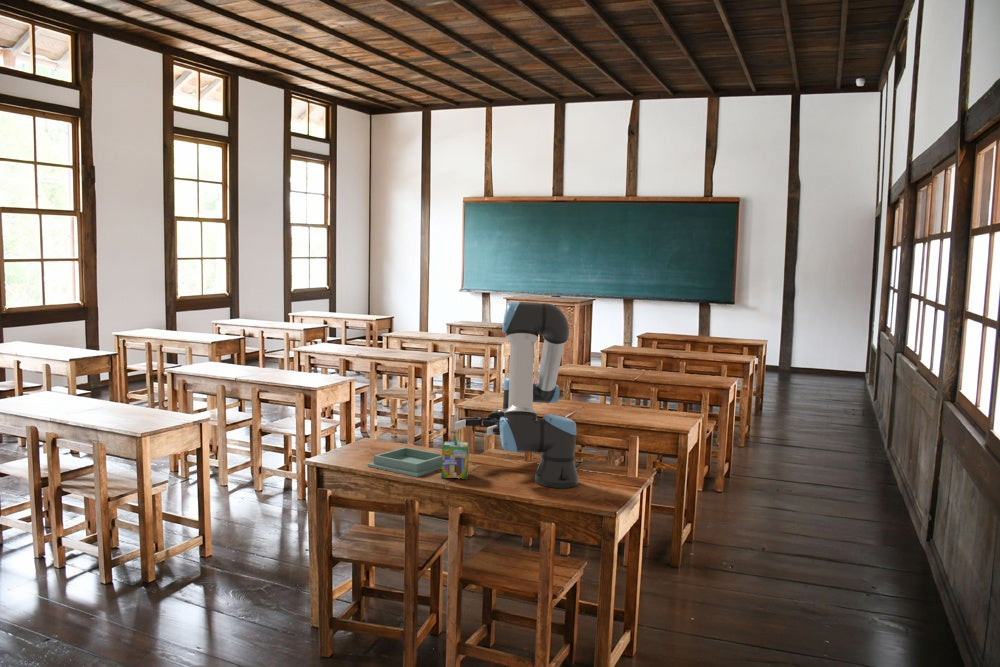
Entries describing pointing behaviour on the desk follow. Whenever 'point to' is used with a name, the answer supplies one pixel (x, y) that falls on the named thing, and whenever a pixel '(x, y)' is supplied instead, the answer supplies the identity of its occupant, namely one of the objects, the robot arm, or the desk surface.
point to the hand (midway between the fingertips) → (471, 428)
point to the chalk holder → (408, 461)
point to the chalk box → (455, 459)
